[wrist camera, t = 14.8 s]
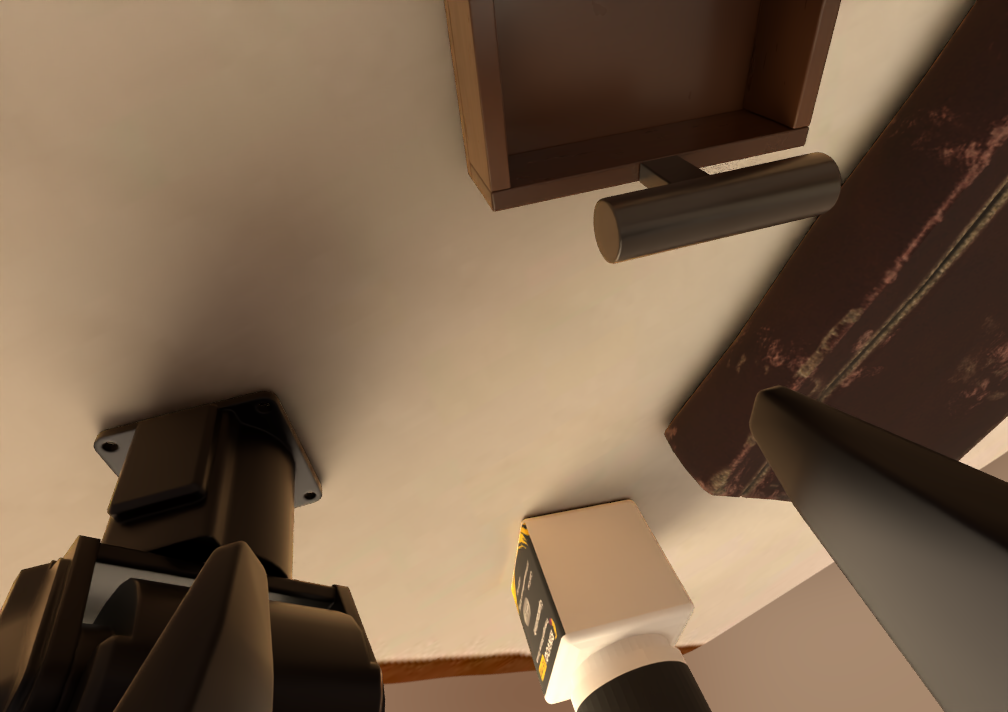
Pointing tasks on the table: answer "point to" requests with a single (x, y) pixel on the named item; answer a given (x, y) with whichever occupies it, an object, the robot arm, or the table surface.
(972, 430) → the diary
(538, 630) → the medicine bottle
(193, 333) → the table surface
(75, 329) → the table surface
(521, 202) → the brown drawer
